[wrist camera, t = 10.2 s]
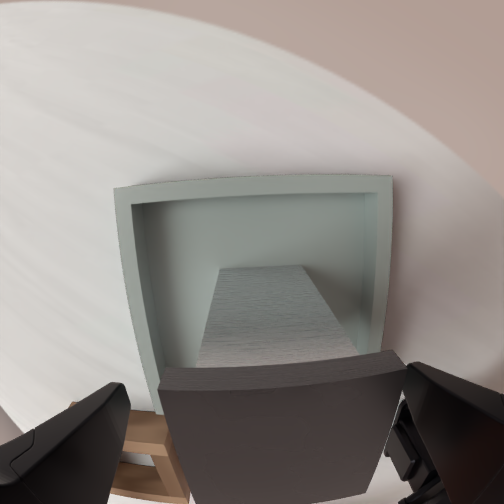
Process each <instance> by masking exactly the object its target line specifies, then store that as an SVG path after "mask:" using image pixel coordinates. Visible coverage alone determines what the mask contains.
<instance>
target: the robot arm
mask: <svg viewBox="0 0 504 504" xmlns="http://www.w3.org/2000/svg"><path fill="white" fill-rule="evenodd" d="M406 367H407V368H408V369H407V373H406V377H405V381H404V385H403V388H402V390H403V393H404V396H405V398H406V400H404V401H402V402H401V403H400V405H399V408H398V411H397V414H396V417H395V420H394V424H393V426H392V428H391V431H390V434H389V437H388V440H387V442H386V445H385V449H384V455H385V456H386V457H390V458H391V460H392V462H393V464H394V466H395V468H396V470H397V472H398V474H399V477H400V479H401V480H402V481H404V482H405V481H408V482H409V484H410V486H411V488H412V490H413V492H414V493H413V494H411V495H410V496H408V497H407V498H403V499H402V500H400V501H399V502H398V504H504V394H500V393H498V392H496V391H493V390H490V389H488V388H485V387H482V386H480V385H477V384H474V383H472V382H469V381H467V380H464V379H461V378H459V377H456V376H454V375H451V374H449V373H446V372H444V371H441V370H439V369H436V368H434V367H431V366H429V365H426V364H424V363H421V362H413V363H409V364H408V365H407V366H406ZM130 409H131V404H130V400H129V397H128V394H127V391H126V388H125V386H124V384H122V383H117V382H111V383H109V384H107V385H106V386H104V387H102V388H101V389H99V390H97V391H96V392H94V393H92V394H91V395H89V396H88V397H86V398H84V399H83V400H81V401H79V402H78V403H76V404H74V405H73V406H71V407H69V408H68V409H66V410H64V411H63V412H61V413H59V414H58V415H56V416H54V417H52V418H51V419H49V420H47V421H46V422H44V423H42V424H40V425H39V426H37V427H35V429H32V430H30V431H28V432H27V433H25V434H23V435H21V436H19V437H17V438H15V439H13V440H11V441H9V442H7V443H5V444H3V445H1V446H0V504H107V502H108V498H109V495H110V491H111V487H112V484H113V480H114V477H115V474H116V470H117V467H118V463H119V460H120V457H121V454H122V450H123V446H124V442H125V436H126V431H127V425H128V420H129V415H130Z"/></svg>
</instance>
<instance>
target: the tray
mask: <svg viewBox="0 0 504 504" xmlns="http://www.w3.org/2000/svg"><path fill="white" fill-rule="evenodd" d="M114 200H115V212H116V222H117V231H118V239H119V247H120V255H121V262H122V268H123V275H124V281H125V287H126V293H127V298H128V304H129V309H130V314H131V319H132V324H133V328H134V333H135V338H136V342H137V346H138V350H139V355H140V359H141V363H142V367H143V370H144V374H145V378H146V382H147V385H148V389H149V392H150V396H151V399H152V402H153V406H154V409H155V412H156V414H159V415H164V412H163V409H162V406H161V402H160V398H159V395H158V391H157V389H158V386H159V383H160V380H161V378H162V375H163V373H164V370H165V367H176V368H196V364H197V360H198V355H199V351H200V347H201V343H202V339H203V334H204V330H205V326H206V322H207V318H208V314H209V310H210V306H211V302H212V298H213V294H214V290H215V286H216V282H217V278H218V274H219V270H220V269H226V268H245V267H264V266H282V265H300V264H301V266H302V267H303V269H304V270H305V272H306V273H307V275H308V276H309V278H310V279H311V281H312V282H313V284H314V285H315V287H316V288H317V290H318V291H319V293H320V294H321V296H322V297H323V299H324V300H325V302H326V303H327V305H328V306H329V308H330V309H331V311H332V313H333V314H334V316H335V317H336V319H337V320H338V322H339V323H340V325H341V326H342V328H343V329H344V331H345V333H346V334H347V336H348V337H349V339H350V340H351V342H352V344H353V345H354V347H355V348H356V350H357V351H358V353H359V355H364V354H370V353H377V352H380V350H381V344H382V338H383V331H384V323H385V315H386V307H387V298H388V288H389V277H390V263H391V246H392V218H393V180H392V176H391V175H353V174H306V175H267V176H244V177H227V178H211V179H198V180H186V181H174V182H164V183H154V184H145V185H136V186H128V187H120V188H114Z"/></svg>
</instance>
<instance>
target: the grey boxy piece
mask: <svg viewBox="0 0 504 504" xmlns="http://www.w3.org/2000/svg"><path fill="white" fill-rule="evenodd" d="M407 369H408V368H407V367H406V366H405V365H404V363H403V362H402V361H401V360H400V358H399V357H398V356H397V355H396V353H395V352H394V351H393V350H388V351H382V352H377V353H370V354H364V355H359V353H358V351H357V350H356V348H355V347H354V345H353V344H352V342H351V340H350V339H349V337H348V336H347V334H346V333H345V331H344V329H343V328H342V326H341V325H340V323H339V322H338V320H337V319H336V317H335V316H334V314H333V313H332V311H331V309H330V308H329V306H328V305H327V303H326V302H325V300H324V299H323V297H322V296H321V294H320V293H319V291H318V290H317V288H316V287H315V285H314V284H313V282H312V281H311V279H310V278H309V276H308V275H307V273H306V272H305V270H304V269H303V267H302V266H301V264H300V265H282V266H264V267H245V268H226V269H220V270H219V274H218V278H217V282H216V286H215V290H214V294H213V298H212V302H211V306H210V310H209V314H208V318H207V322H206V326H205V330H204V334H203V339H202V343H201V347H200V351H199V355H198V360H197V364H196V368H176V367H165V370H164V373H163V375H162V378H161V380H160V383H159V386H158V389H157V391H158V395H159V398H160V402H161V406H162V409H163V412H164V416H165V419H166V422H167V426H168V429H169V432H170V435H171V438H172V441H173V444H174V447H175V450H176V453H177V456H178V459H179V462H180V465H181V467H182V470H183V473H184V475H185V478H186V481H187V483H188V486H189V488H190V491H191V494H192V496H193V498H194V501H195V503H196V504H312V503H319V502H325V501H330V500H336V499H341V498H346V497H350V496H355V495H359V494H363V493H366V491H367V488H368V486H369V484H370V482H371V479H372V477H373V474H374V472H375V470H376V467H377V465H378V462H379V459H380V457H381V454H382V451H383V449H384V446H385V443H386V440H387V438H388V435H389V432H390V429H391V426H392V423H393V419H394V416H395V413H396V410H397V406H398V403H399V399H400V396H401V392H402V388H403V385H404V381H405V377H406V373H407Z"/></svg>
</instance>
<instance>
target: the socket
mask: <svg viewBox="0 0 504 504" xmlns="http://www.w3.org/2000/svg"><path fill="white" fill-rule="evenodd" d="M74 404H76V402H72V403H71V404H70V406H69V407H71V406H73V405H74ZM69 407H68V408H69ZM122 451H126V452H133V453H141V454H149V455H151V458H152V460H153V462H154V465H155V467H151V466H143V465H136V464H129V463H123V462H119V463H118V467H117V470H116V474H115V477H114V480H113V484H112V487H111V491H110V493H111V494H115V495H120V496H125V497H131V498H136V499H142V500H149V501H156V502H164V503H173V504H189V499H190V488H189V486H188V483H187V481H186V478H185V475H184V473H183V470H182V467H181V465H180V462H179V459H178V456H177V453H176V450H175V447H174V444H173V441H172V438H171V435H170V432H169V429H168V426H167V422H166V419H165V416H164V415H159V414H156V412H147V411H135V410H130V415H129V420H128V425H127V431H126V436H125V442H124V446H123V450H122Z"/></svg>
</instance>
